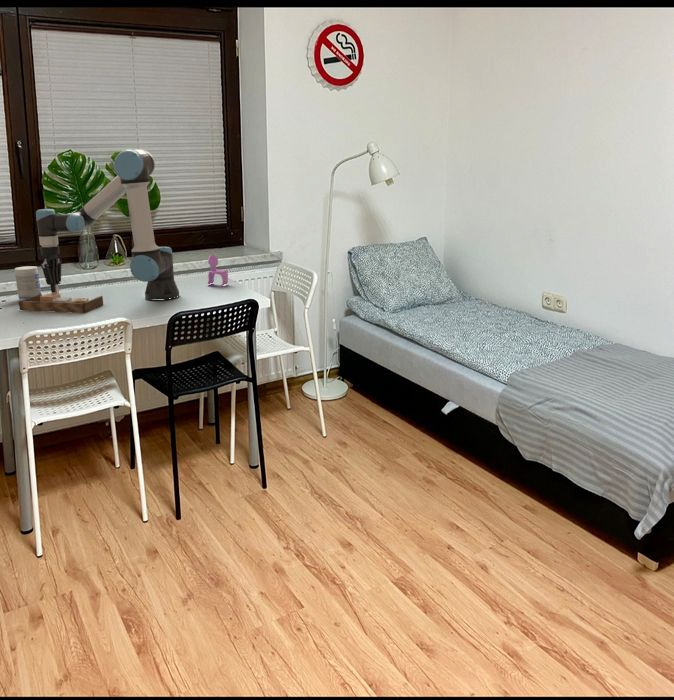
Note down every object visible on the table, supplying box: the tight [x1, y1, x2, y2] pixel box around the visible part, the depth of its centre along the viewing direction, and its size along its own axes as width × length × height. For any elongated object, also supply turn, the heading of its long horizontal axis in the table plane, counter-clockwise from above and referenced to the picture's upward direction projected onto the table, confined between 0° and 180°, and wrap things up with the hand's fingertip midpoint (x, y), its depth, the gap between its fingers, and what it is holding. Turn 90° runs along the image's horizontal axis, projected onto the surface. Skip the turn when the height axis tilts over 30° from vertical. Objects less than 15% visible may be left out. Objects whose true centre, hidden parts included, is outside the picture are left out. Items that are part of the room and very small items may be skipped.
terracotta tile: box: [40, 293, 62, 302], centre depth 303 cm, size 6×6×4 cm
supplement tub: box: [14, 265, 42, 301], centre depth 309 cm, size 10×10×15 cm
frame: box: [18, 293, 104, 314], centre depth 295 cm, size 30×15×4 cm, turn 80°
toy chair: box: [207, 254, 229, 286], centre depth 337 cm, size 8×9×15 cm
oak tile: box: [71, 297, 90, 303], centre depth 294 cm, size 6×6×4 cm
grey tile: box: [52, 297, 73, 303], centre depth 296 cm, size 6×6×4 cm
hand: (56, 299), depth 306 cm, fingers closed
